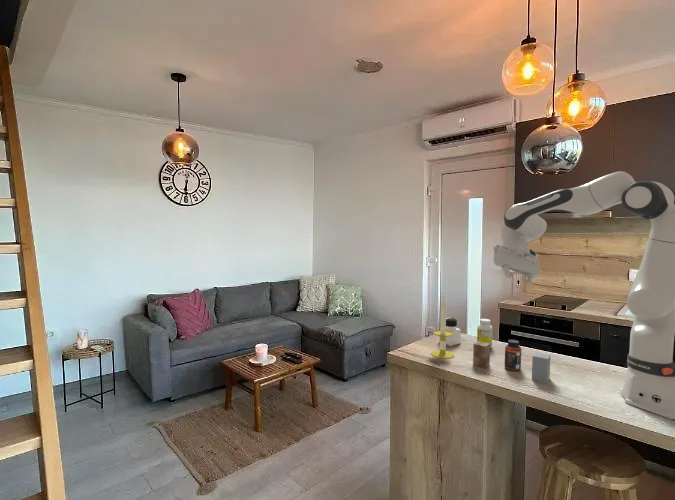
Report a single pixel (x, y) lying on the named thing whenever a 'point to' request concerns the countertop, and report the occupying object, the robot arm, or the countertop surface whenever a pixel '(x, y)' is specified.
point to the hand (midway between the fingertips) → (519, 280)
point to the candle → (443, 335)
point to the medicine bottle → (452, 327)
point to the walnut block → (481, 354)
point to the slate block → (541, 367)
